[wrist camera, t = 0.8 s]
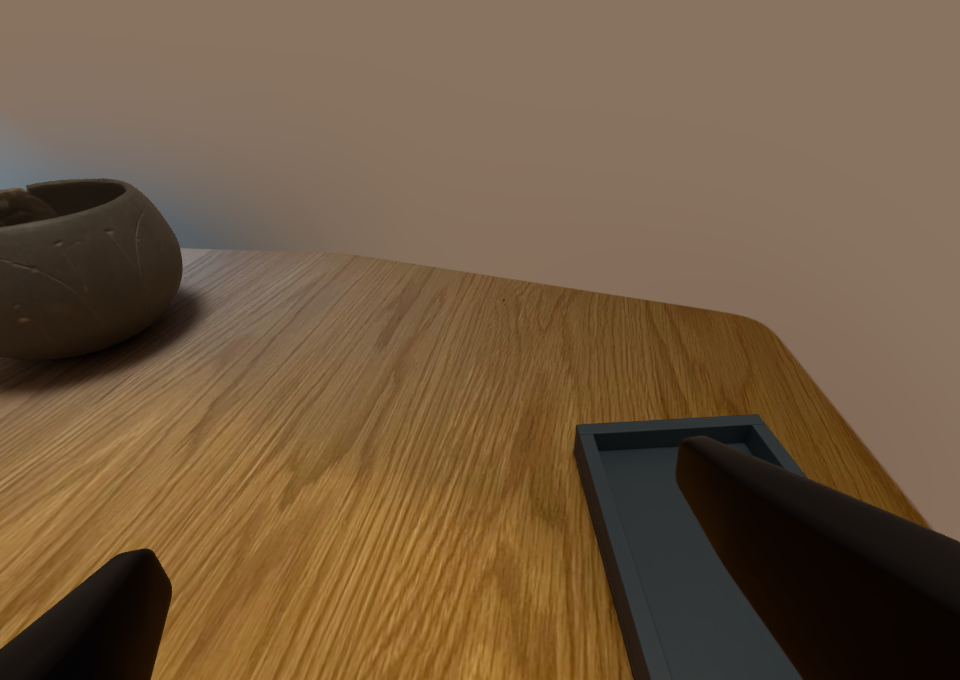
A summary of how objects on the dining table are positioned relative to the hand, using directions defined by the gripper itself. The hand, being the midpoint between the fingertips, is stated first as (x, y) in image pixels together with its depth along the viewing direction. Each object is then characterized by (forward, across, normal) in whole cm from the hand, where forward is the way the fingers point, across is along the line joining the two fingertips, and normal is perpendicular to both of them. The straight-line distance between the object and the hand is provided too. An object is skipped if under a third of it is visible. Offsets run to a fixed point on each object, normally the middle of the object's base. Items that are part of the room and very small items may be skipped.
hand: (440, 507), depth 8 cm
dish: (+7, -12, +14) cm, 20 cm away
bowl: (+38, +29, +9) cm, 49 cm away
